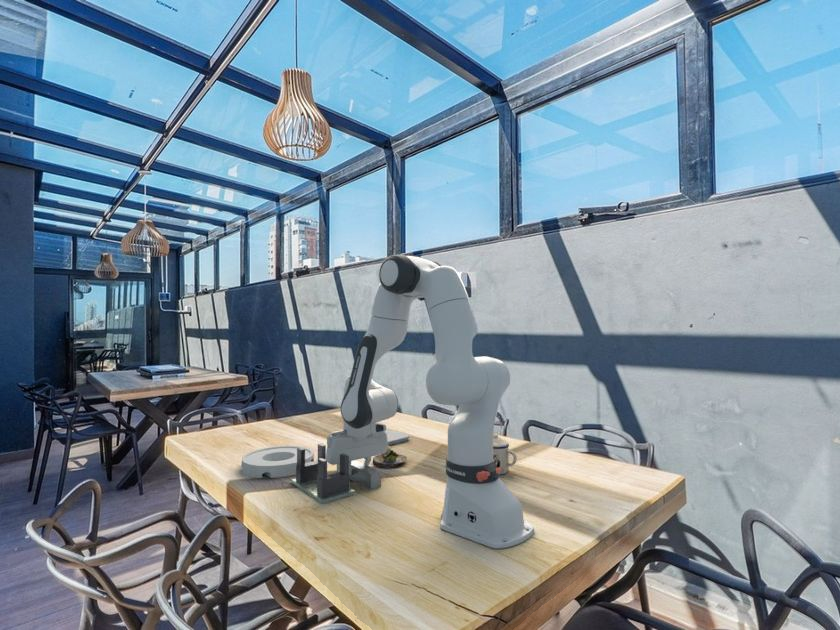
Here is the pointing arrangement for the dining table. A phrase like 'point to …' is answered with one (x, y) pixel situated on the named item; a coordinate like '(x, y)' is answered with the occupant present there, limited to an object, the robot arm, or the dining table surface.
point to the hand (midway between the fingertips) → (357, 473)
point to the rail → (364, 475)
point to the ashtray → (273, 461)
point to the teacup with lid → (502, 454)
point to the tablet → (396, 437)
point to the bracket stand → (322, 477)
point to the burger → (388, 459)
